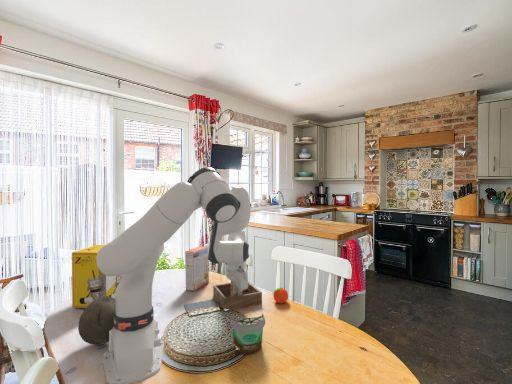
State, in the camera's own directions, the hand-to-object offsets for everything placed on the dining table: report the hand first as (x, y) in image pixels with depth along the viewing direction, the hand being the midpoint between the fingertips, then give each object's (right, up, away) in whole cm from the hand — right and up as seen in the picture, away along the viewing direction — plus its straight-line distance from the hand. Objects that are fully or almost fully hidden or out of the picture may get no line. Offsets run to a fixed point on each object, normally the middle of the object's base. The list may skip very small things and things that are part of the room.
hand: (236, 292), depth 127 cm
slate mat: (-15, -4, -8) cm, 17 cm away
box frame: (0, -4, 0) cm, 4 cm away
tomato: (+20, -4, -3) cm, 21 cm away
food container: (+8, -4, -40) cm, 40 cm away
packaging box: (-65, -4, 0) cm, 65 cm away
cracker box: (-23, -4, +18) cm, 29 cm away
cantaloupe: (-42, +11, -32) cm, 54 cm away
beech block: (0, -4, 0) cm, 4 cm away
